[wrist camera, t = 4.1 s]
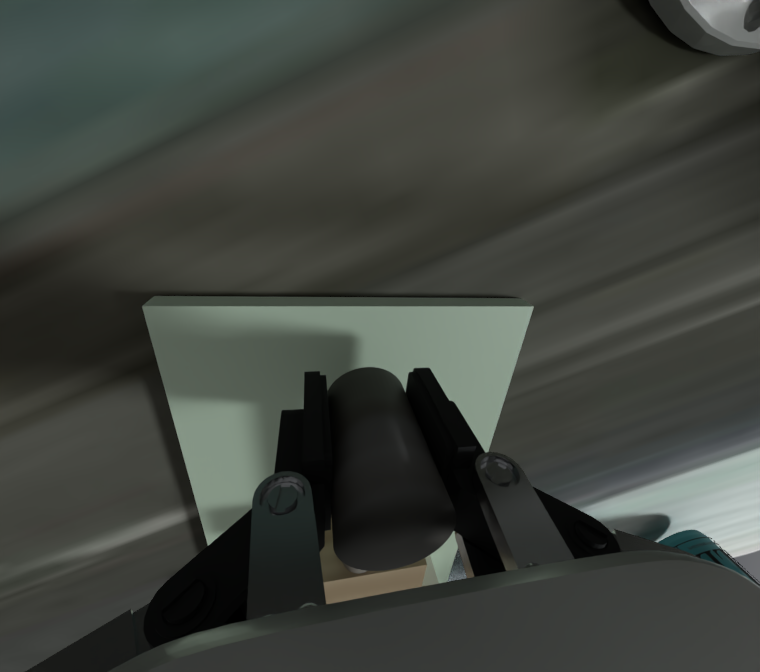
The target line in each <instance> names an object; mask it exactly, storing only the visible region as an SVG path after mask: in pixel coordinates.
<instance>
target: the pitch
mask: <svg viewBox="0 0 760 672" xmlns="http://www.w3.org/2000/svg"><path fill="white" fill-rule="evenodd" d="M533 308H534V306H532V305H531V304H529V303H528V302H526V301H524V300H523V299H521V298H403V297H246V296H154V297H152V298H151V299H150V300H149V301H148V302H146V303H145V304H144V305H143V306H142V309H143V312H144V316H145V320H146V323H147V327H148V330H149V334H150V338H151V341H152V345H153V349H154V352H155V356H156V359H157V363H158V367H159V370H160V374H161V377H162V381H163V385H164V388H165V392H166V396H167V399H168V403H169V406H170V410H171V414H172V417H173V421H174V425H175V428H176V432H177V435H178V439H179V443H180V446H181V450H182V454H183V457H184V461H185V464H186V468H187V472H188V475H189V479H190V483H191V486H192V490H193V493H194V497H195V501H196V504H197V508H198V512H199V515H200V519H201V522H202V526H203V530H204V533H205V537H206V541H207V544H208V545H210V544H211V543H212V542H213V541H214V540H215V539H217V538H218V537H219V536H220V535H221V534H222V533H224V532H225V531H226V530H227V529H228V528H229V527H231V526H232V525H233V524H234V523H235V522H236V521H238V520H239V519H240V518H241V517H242V516H243V515H245V514H246V513H247V512H248V511H249V510H250V509H252V500H253V496H254V492H255V490H256V489H257V487H258V485H259V484H260V483H261V482H262V481H263V480H264V479H266V478H267V477H269V476H271V475H273V474H274V470H275V462H276V453H277V444H278V436H279V427H280V418H281V411H282V410H294V409H304V372H310V371H320V375H326V380H327V391H328V389H329V388H330V386H331V385H332V384H333V382H334V381H335V380H336V379H338V378H339V377H340V376H341V375H343V374H345V373H347V372H349V371H351V370H354V369H358V368H363V367H376V368H381V369H384V370H387V371H389V372H391V373H392V374H394V375H395V376H396V377H397V378H398V379H399V380H400V382H401V384H402V386H403V388H404V390H405V393H406V386H407V379H408V374H409V372H413V369H414V368H430V369H431V371H432V372H433V374H434V376H435V378H436V379H437V381H438V383H439V384H440V386H441V388H442V389H443V391H444V393H445V394H446V396H447V398H448V399H449V401H453V402H454V403H455V404H456V405H457V407H458V409H459V410H460V412H461V414H462V415H463V417H464V418H465V420H466V422H467V423H468V425H469V427H470V428H471V430H472V431H473V433H474V435H475V436H476V438H477V440H478V441H479V443H480V444H481V446H482V448H483V449H484V451H485V452H488V450H489V447H490V444H491V441H492V438H493V435H494V431H495V428H496V425H497V422H498V419H499V416H500V412H501V409H502V406H503V403H504V400H505V397H506V393H507V390H508V387H509V384H510V381H511V377H512V374H513V371H514V368H515V365H516V362H517V358H518V355H519V352H520V349H521V346H522V343H523V339H524V336H525V333H526V330H527V327H528V324H529V320H530V317H531V314H532V311H533ZM457 549H458V545H457V542H456V538H455V531H453V532H452V534H451V536H450V537H449V539H448V540H447V541H446V542H445V543H444V544H443V545H442V546H441V547H440V548H439V549H438V550H436V551H435V552H433V553H432V554H430V556H431V559H432V563H433V566H434V569H435V572H436V576H437V579H438V582H439V583H444V582H447V581H448V577H449V574H450V571H451V568H452V565H453V562H454V558H455V555H456V552H457Z"/></svg>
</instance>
